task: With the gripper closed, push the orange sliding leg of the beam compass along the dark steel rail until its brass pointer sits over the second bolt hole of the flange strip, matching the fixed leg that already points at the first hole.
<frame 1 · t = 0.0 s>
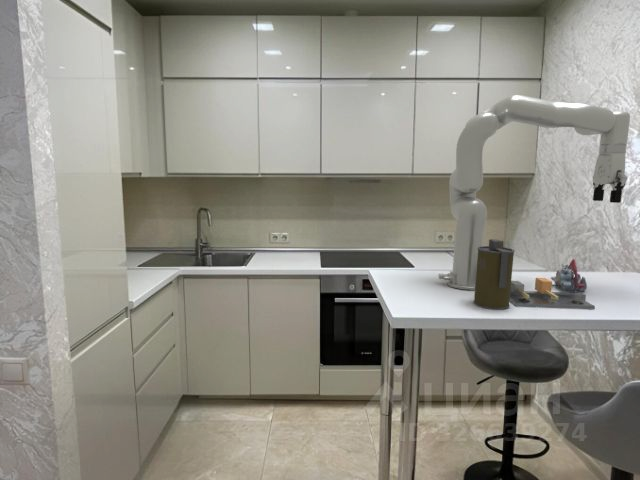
hand: (606, 201, 145), 31 cm above the table, tool pointing down, fingers open, 9 cm apart
flange strip: (550, 304, 132), on the table
canister: (491, 305, 131), on the table
fixed leg: (515, 297, 139), resting on flange strip
sliding leg: (548, 289, 134), point 4 cm above the table, slide at 8.5 cm
rail: (545, 298, 138), on the table
brake caliper: (568, 290, 150), on the table
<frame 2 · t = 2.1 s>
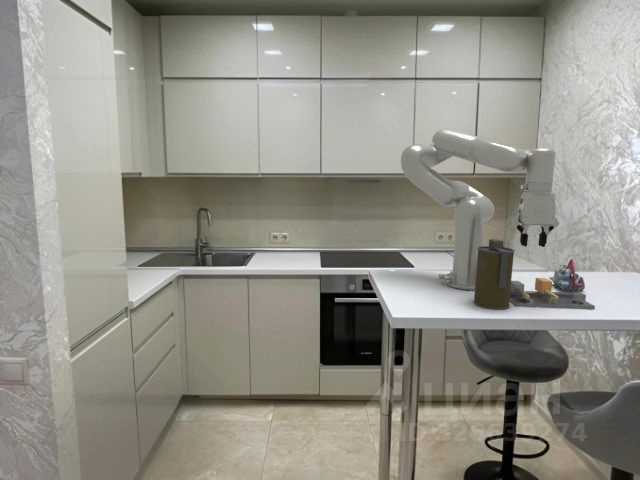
hand: (532, 245, 136), 17 cm above the table, tool pointing down, fingers open, 4 cm apart
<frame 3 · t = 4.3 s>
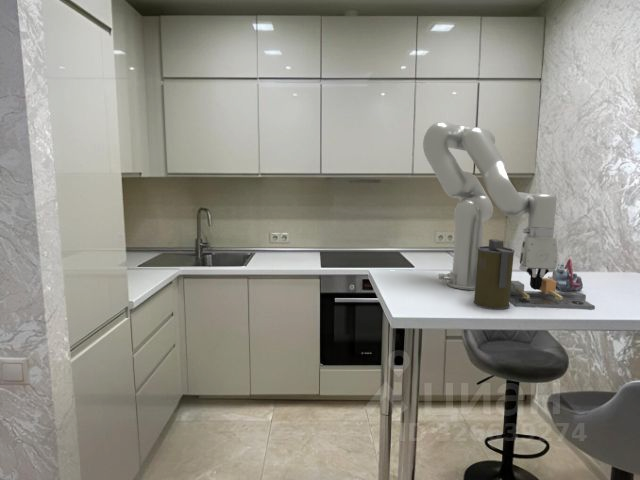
hand: (535, 288, 138), 3 cm above the table, tool pointing down, fingers closed
sliding leg: (552, 289, 134), point 4 cm above the table, slide at 9.8 cm, touching gripper
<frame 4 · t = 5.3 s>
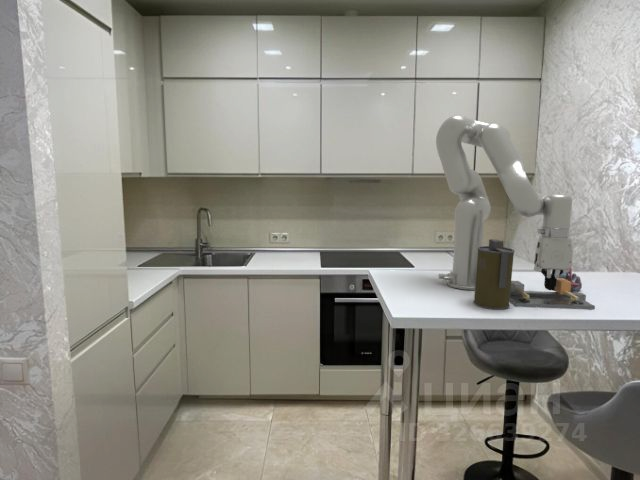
hand: (549, 289, 138), 3 cm above the table, tool pointing down, fingers closed
sliding leg: (567, 290, 134), point 4 cm above the table, slide at 14.4 cm, touching gripper
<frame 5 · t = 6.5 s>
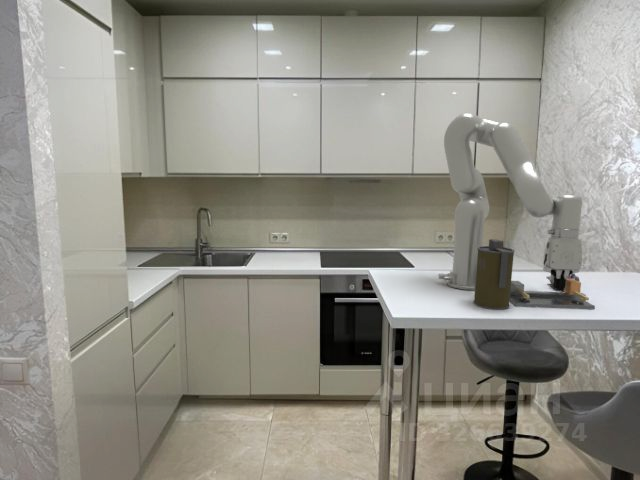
hand: (558, 289, 138), 3 cm above the table, tool pointing down, fingers closed
sliding leg: (577, 290, 134), point 4 cm above the table, slide at 17.3 cm
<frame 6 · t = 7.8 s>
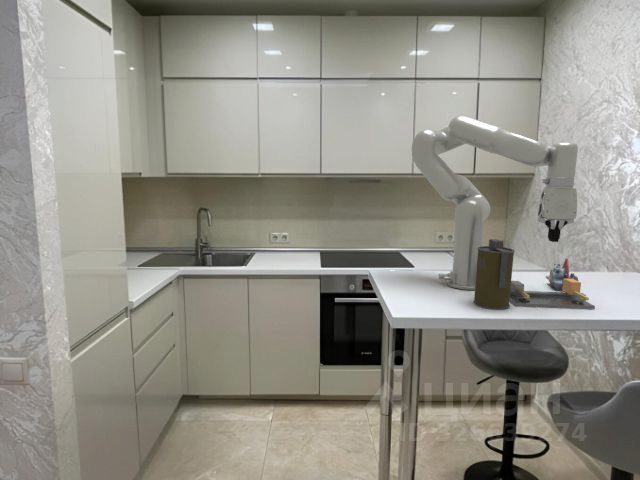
hand: (553, 241, 136), 19 cm above the table, tool pointing down, fingers closed
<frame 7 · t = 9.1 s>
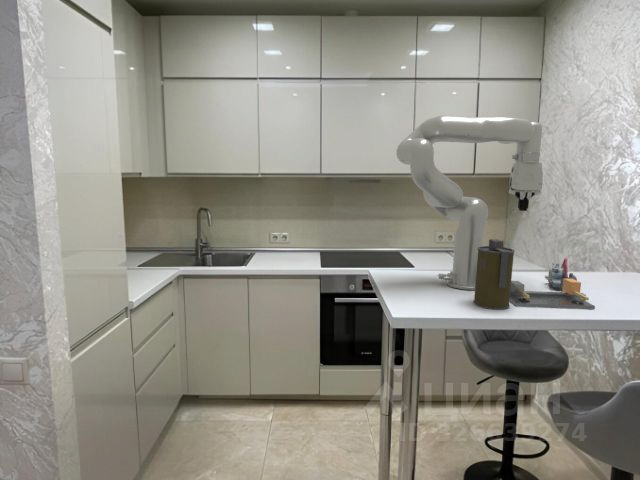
hand: (522, 210, 153), 27 cm above the table, tool pointing down, fingers closed
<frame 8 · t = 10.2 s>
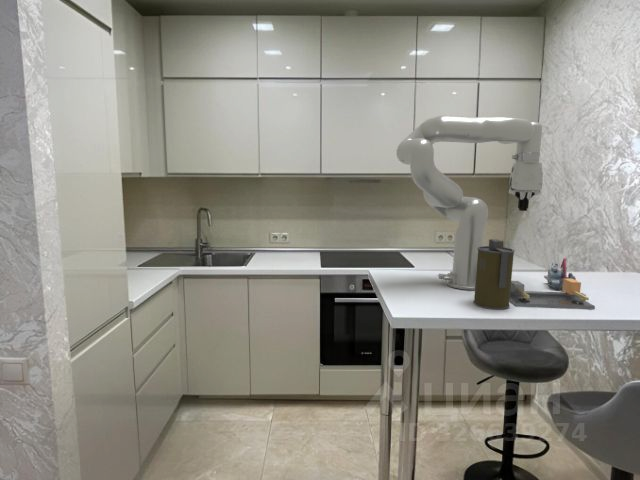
hand: (522, 210, 153), 27 cm above the table, tool pointing down, fingers closed
at the end: sliding leg slide at 17.3 cm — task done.
